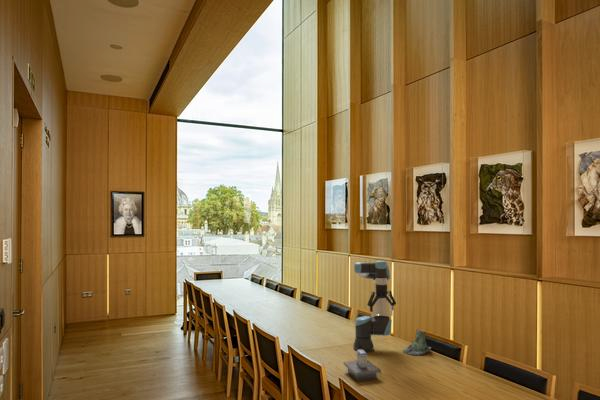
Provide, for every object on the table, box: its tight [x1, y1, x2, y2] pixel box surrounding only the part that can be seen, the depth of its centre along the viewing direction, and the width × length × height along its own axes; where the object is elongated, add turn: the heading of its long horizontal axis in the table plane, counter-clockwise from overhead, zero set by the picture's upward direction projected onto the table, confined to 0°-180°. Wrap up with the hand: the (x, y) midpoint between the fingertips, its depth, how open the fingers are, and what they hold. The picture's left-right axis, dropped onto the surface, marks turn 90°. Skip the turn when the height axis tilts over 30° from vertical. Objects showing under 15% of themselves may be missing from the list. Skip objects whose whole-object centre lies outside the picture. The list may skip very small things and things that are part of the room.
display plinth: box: [343, 359, 382, 382], centre depth 259 cm, size 20×16×6 cm
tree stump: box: [402, 329, 432, 357], centre depth 307 cm, size 18×20×18 cm
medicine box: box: [356, 350, 368, 368], centre depth 260 cm, size 8×4×9 cm, turn 7°
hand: (381, 316), depth 281 cm, fingers open, 13 cm apart
